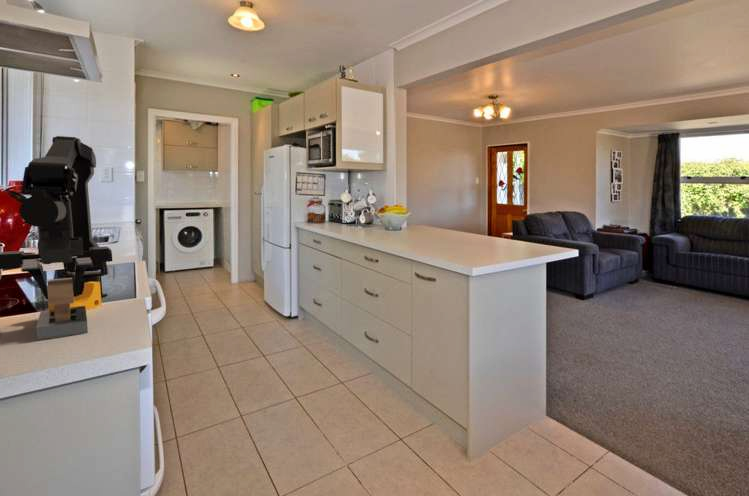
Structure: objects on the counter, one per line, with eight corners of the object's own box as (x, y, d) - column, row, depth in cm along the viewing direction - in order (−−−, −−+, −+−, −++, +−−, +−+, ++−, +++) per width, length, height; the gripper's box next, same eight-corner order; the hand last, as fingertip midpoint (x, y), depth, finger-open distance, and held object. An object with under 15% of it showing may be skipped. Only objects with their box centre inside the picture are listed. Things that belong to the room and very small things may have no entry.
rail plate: (41, 322, 89) (40, 311, 89) (86, 316, 94) (85, 305, 94) (37, 340, 78) (36, 327, 78) (87, 332, 83) (86, 320, 83)
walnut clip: (52, 313, 88) (48, 279, 87) (74, 310, 90) (72, 277, 89) (50, 323, 81) (46, 286, 80) (75, 319, 84) (71, 284, 83)
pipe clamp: (86, 306, 104) (84, 281, 103) (101, 306, 103) (99, 281, 102) (42, 319, 92) (40, 292, 91) (59, 320, 91) (57, 292, 90)
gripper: (-14, 227, 71) (-5, 313, 73) (111, 224, 82) (116, 299, 84) (-4, 224, 80) (4, 300, 82) (108, 221, 91) (112, 289, 93)
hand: (61, 297), depth 85 cm, fingers open, 4 cm apart
